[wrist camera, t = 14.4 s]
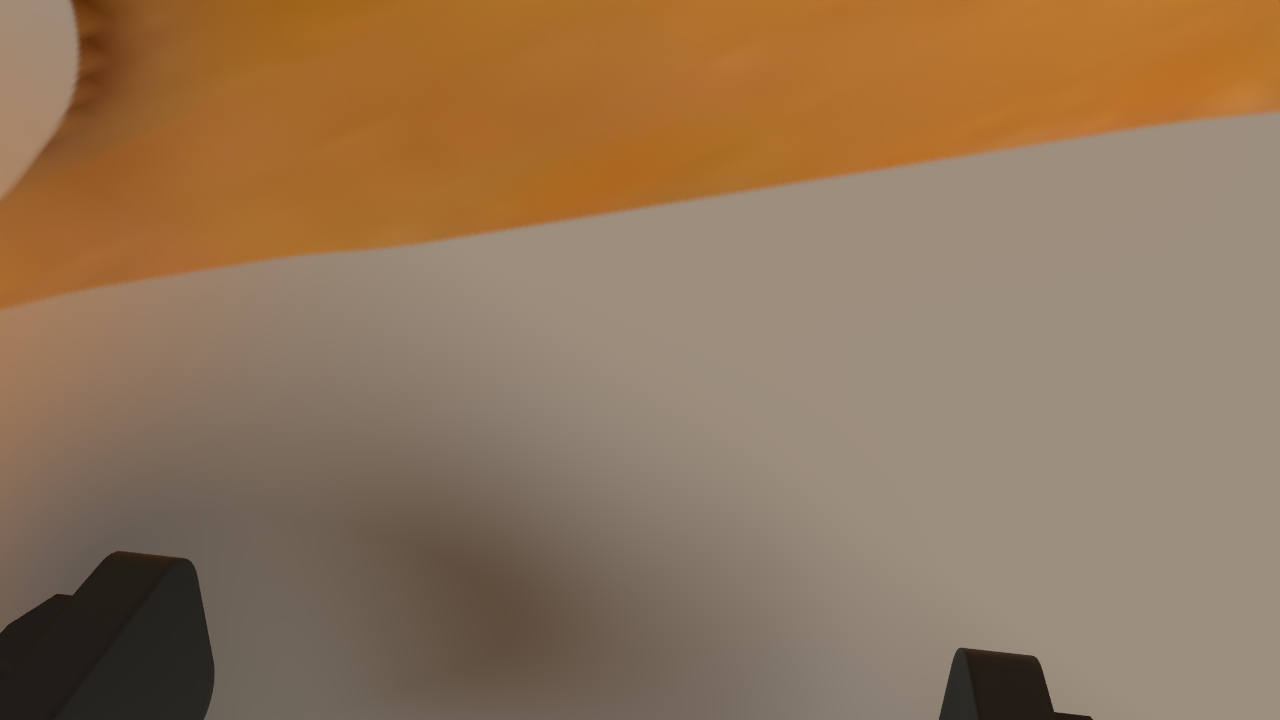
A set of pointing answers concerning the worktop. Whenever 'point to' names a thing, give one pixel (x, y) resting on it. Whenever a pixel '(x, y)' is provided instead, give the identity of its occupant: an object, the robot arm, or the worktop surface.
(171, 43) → the worktop surface
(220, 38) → the worktop surface
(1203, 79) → the worktop surface
